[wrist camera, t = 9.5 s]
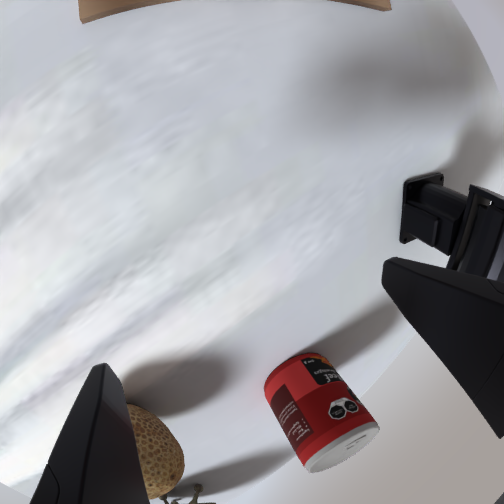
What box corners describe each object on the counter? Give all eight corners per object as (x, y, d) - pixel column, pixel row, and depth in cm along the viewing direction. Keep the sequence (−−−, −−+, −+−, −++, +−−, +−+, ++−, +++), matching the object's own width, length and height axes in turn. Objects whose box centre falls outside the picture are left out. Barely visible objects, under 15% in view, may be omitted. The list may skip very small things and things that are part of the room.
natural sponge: (135, 438, 27) (152, 513, 19) (69, 411, 22) (72, 498, 14) (187, 404, 27) (215, 488, 18) (116, 370, 22) (128, 475, 14)
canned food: (333, 367, 33) (384, 433, 24) (279, 404, 33) (321, 475, 24) (312, 338, 29) (375, 419, 20) (248, 384, 28) (294, 471, 19)
